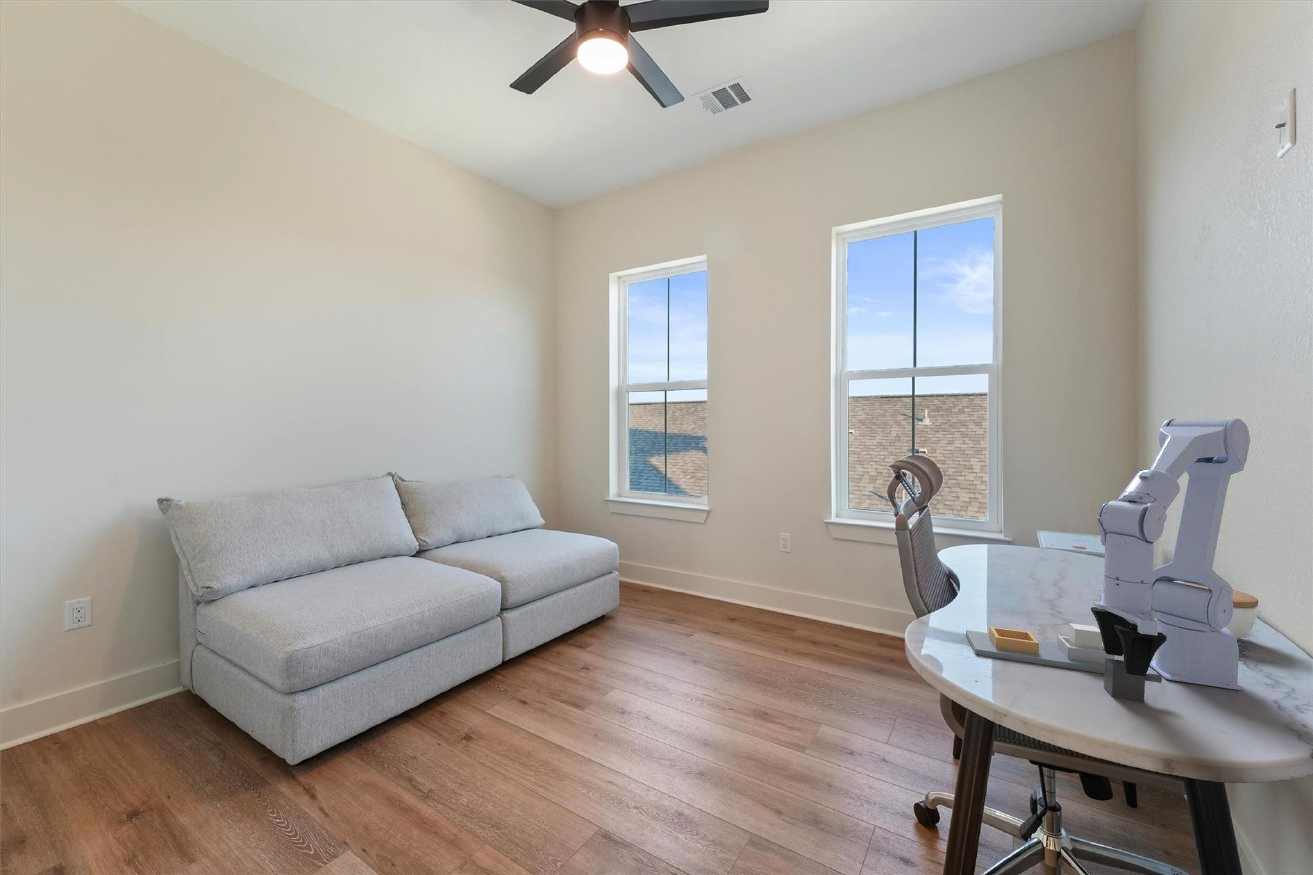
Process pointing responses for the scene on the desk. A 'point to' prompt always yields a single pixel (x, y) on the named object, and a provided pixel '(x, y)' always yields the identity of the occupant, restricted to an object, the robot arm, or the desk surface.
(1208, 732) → the desk surface
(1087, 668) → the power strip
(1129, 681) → the dark gray plug
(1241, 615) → the white lidded bowl
